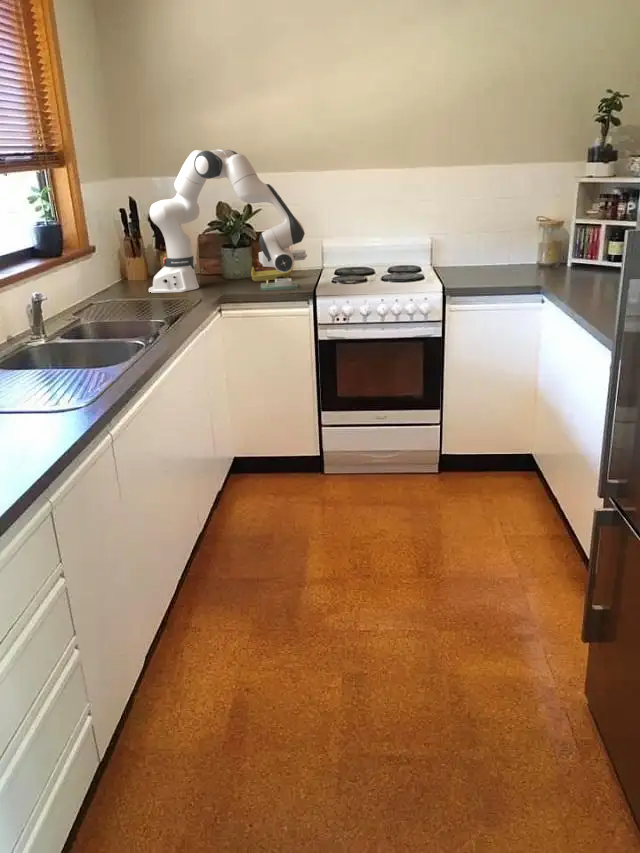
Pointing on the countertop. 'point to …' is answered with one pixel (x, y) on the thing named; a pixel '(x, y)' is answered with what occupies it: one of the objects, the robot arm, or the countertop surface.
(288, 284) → the board
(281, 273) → the plastic component
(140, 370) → the countertop surface
